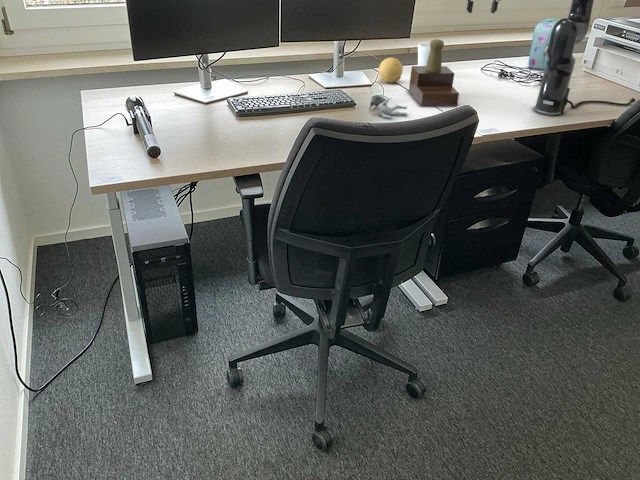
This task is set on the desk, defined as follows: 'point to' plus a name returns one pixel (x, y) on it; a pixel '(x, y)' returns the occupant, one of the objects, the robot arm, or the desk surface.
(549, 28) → the lunch box
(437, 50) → the olive pawn
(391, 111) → the soldier figure
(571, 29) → the robot arm
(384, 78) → the stress ball
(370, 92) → the desk surface
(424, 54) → the foam cup
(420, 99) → the step shelf
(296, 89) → the desk surface
